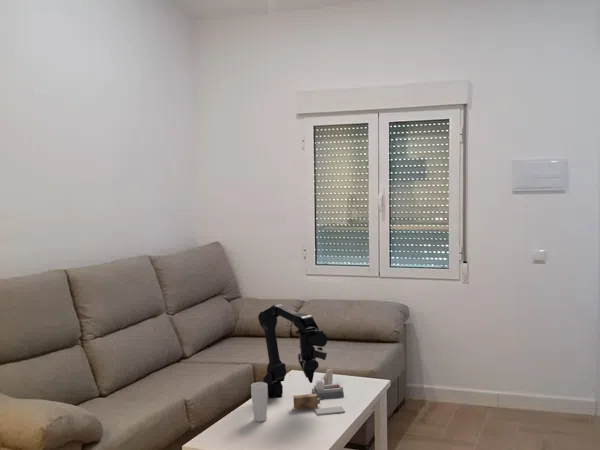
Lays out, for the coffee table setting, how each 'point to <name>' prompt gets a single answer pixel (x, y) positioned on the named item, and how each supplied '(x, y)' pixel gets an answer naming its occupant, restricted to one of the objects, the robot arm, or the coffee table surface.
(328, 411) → the pad
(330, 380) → the architectural model
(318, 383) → the toggle
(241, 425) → the coffee table surface
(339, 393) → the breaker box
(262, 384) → the drinking glass
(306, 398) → the brown rectangular block
